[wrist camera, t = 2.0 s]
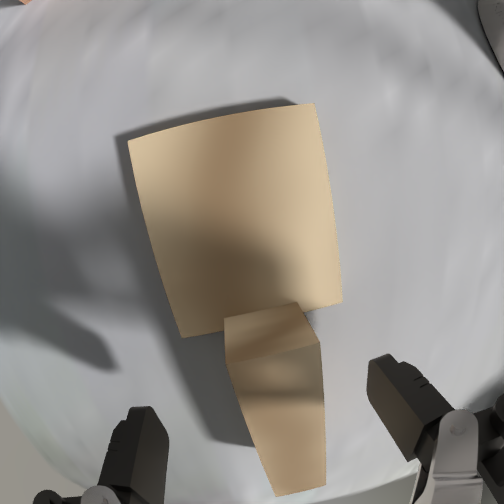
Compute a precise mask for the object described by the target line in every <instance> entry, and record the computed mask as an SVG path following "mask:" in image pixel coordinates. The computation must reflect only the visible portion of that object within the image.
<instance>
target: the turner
mask: <svg viewBox="0 0 504 504" xmlns="http://www.w3.org/2000/svg"><path fill="white" fill-rule="evenodd" d="M128 147H129V152H130V157H131V162H132V167H133V172H134V177H135V182H136V186H137V191H138V195H139V199H140V203H141V208H142V212H143V216H144V220H145V223H146V227H147V231H148V235H149V238H150V242H151V246H152V249H153V253H154V256H155V260H156V263H157V266H158V270H159V273H160V276H161V279H162V282H163V286H164V289H165V292H166V295H167V298H168V301H169V304H170V307H171V310H172V313H173V315H174V318H175V321H176V324H177V327H178V329H179V332H180V335H181V337H182V338H187V337H193V336H199V335H204V334H209V333H215V332H220V331H224V335H225V363H226V367H227V370H228V373H229V376H230V379H231V382H232V385H233V388H234V391H235V394H236V396H237V399H238V402H239V405H240V408H241V410H242V413H243V416H244V419H245V421H246V424H247V427H248V429H249V432H250V435H251V437H252V440H253V442H254V445H255V448H256V450H257V453H258V455H259V458H260V460H261V463H262V465H263V467H264V470H265V472H266V475H267V477H268V479H269V482H270V484H271V487H272V489H273V491H274V493H275V496H276V497H279V496H284V495H289V494H293V493H298V492H302V491H306V490H310V489H314V488H317V487H321V486H324V485H326V437H325V410H324V390H323V375H322V361H321V348H320V341H319V340H318V338H317V336H316V334H315V333H314V331H313V329H312V327H311V325H310V324H309V322H308V320H307V318H306V317H305V315H304V312H308V311H312V310H316V309H319V308H323V307H327V306H331V305H334V304H338V303H341V302H343V301H342V286H341V274H340V262H339V252H338V242H337V233H336V225H335V217H334V210H333V202H332V195H331V189H330V182H329V176H328V170H327V164H326V159H325V153H324V148H323V142H322V137H321V132H320V127H319V122H318V118H317V113H316V109H315V104H314V103H312V104H301V105H291V106H282V107H274V108H267V109H260V110H253V111H247V112H241V113H236V114H230V115H225V116H220V117H215V118H210V119H206V120H201V121H197V122H193V123H188V124H184V125H180V126H176V127H173V128H169V129H165V130H162V131H158V132H155V133H151V134H148V135H145V136H141V137H138V138H135V139H132V140H129V141H128Z"/></svg>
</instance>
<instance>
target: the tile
mask: <svg viewBox="0 0 504 504" xmlns="http://www.w3.org/2000/svg"><path fill="white" fill-rule="evenodd" d="M20 1H21V2H23V3H24V4H25V5H26V4H27V3H29V2H30V1H32V0H20Z"/></svg>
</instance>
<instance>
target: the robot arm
mask: <svg viewBox="0 0 504 504" xmlns="http://www.w3.org/2000/svg"><path fill="white" fill-rule="evenodd" d="M478 11H479V15H480V19H481V22H482V25H483V28H484V30H485V33H486V36H487V38H488V40H489V42H490V45H491V47H492V49H493V51H494V53H495V55H496V57H497V59H498V62H499V64H500V66H501V67H502V69H503V71H504V0H479V1H478ZM367 396H368V399H369V401H370V403H371V405H372V406H373V408H374V409H375V411H376V413H377V414H378V416H379V417H380V419H381V420H382V422H383V424H384V425H385V427H386V428H387V430H388V431H389V433H390V435H391V436H392V438H393V439H394V441H395V443H396V444H397V446H398V447H399V449H400V451H401V452H402V454H403V456H404V457H405V459H406V460H407V462H409V461H411V460H413V459H415V458H418V459H419V461H420V465H419V468H418V473H417V477H416V481H415V485H414V489H413V493H412V496H411V500H410V503H409V504H480V502H481V495H482V487H483V481H482V478H483V480H484V481H485V483H486V484H487V486H488V488H489V489H490V491H491V493H492V494H493V496H494V498H495V499H496V501H497V503H498V504H504V394H503V395H501V396H500V397H499V398H498V399H497V401H496V403H495V405H494V407H491V408H488V409H486V410H483V411H480V412H477V413H473V414H472V413H471V412H469V411H467V410H462V409H458V410H455V409H454V408H453V407H452V406H451V405H450V404H449V403H448V402H447V401H446V400H445V398H444V397H443V396H442V395H441V394H440V393H439V392H438V391H437V390H436V389H435V387H434V386H433V385H432V384H430V383H429V381H428V380H427V379H426V378H425V377H423V375H422V373H421V372H420V371H419V370H418V369H417V368H416V367H415V366H413V365H411V364H408V363H406V362H404V361H403V362H401V363H398V362H397V361H396V360H395V359H394V358H393V356H392V355H390V354H386V355H383V356H380V357H378V358H375V359H372V360H370V361H369V365H368V378H367ZM110 442H111V443H109V446H108V452H107V453H106V456H105V460H104V463H103V467H102V471H101V474H100V478H99V482H98V484H97V486H93V487H90V488H89V489H87V490H86V491H85V492H84V494H83V495H82V496H79V497H67V498H62V497H61V496H59V495H58V494H57V493H56V492H54V491H52V490H44V491H41V492H40V493H38V494H37V495H36V497H35V498H34V501H33V504H164V494H165V482H166V471H167V462H168V452H169V437H168V433H167V431H166V429H165V428H164V426H163V424H162V423H161V421H160V420H159V418H158V416H157V415H156V413H155V411H154V409H153V408H152V407H151V406H144V407H131V408H130V409H129V412H128V416H127V419H126V420H121V421H120V423H119V424H118V425H117V426H116V428H115V429H114V430H113V433H112V436H111V440H110ZM476 470H478V472H479V473H480V475H481V476H482V478H481V477H478V476H477V473H476Z"/></svg>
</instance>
